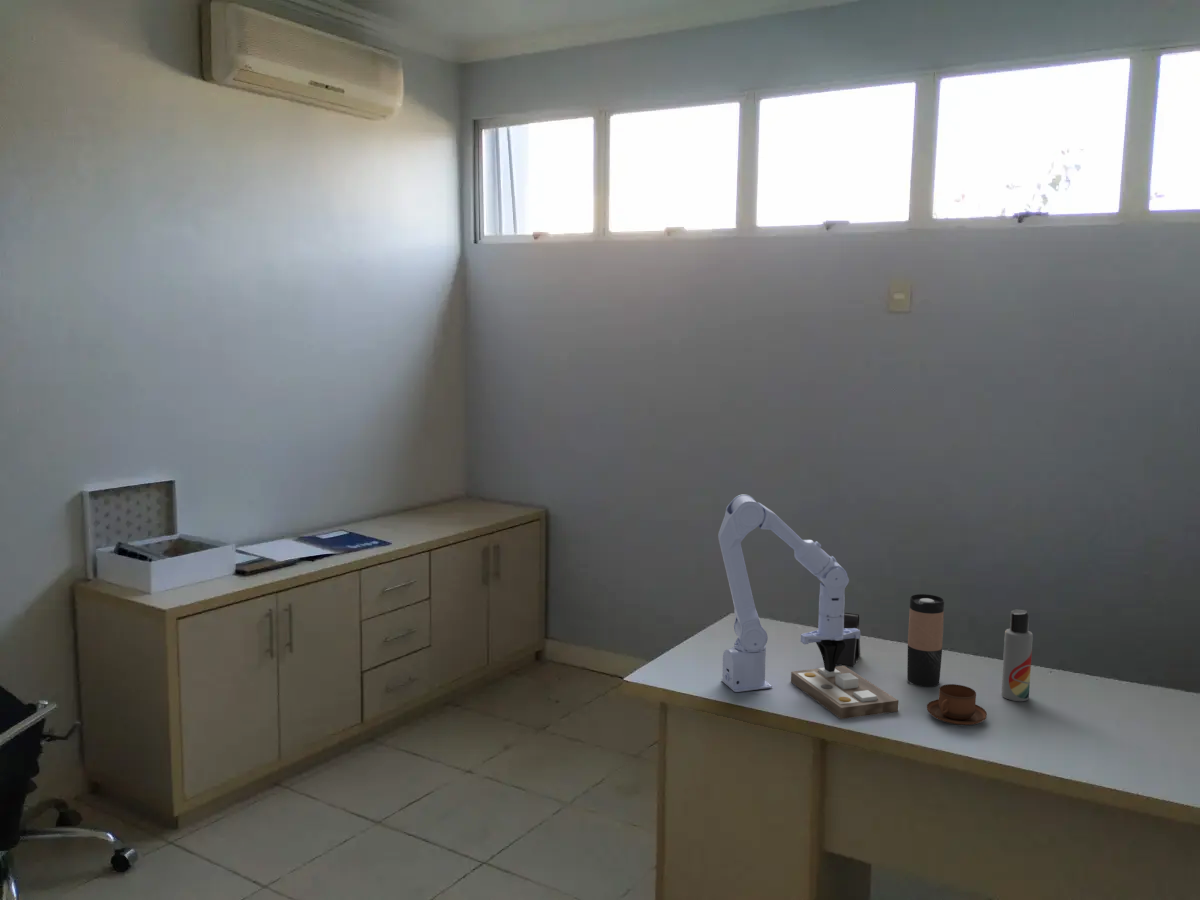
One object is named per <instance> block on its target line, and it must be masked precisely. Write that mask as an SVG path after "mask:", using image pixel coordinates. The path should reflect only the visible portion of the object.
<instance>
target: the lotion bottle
mask: <svg viewBox="0 0 1200 900" xmlns="http://www.w3.org/2000/svg"><path fill="white" fill-rule="evenodd" d="M1009 618H1010V621H1009V628H1006V629H1005V631H1004V642H1003V644H1004V645H1003V658H1002V659H1003V661H1002V676H1001V678H1002V679H1001V696H1002V697H1003V698H1005V699H1007V700H1009V701H1014V702H1025V701H1028V700H1029V697H1030V689H1031V687H1030V684H1031V669H1032V653H1033V640H1034V638H1033V637H1034V635H1033V633H1032V631H1029V627H1030V626H1029V623H1030V613H1029V612H1028V610H1026V609H1013V610H1011V611H1010V617H1009Z"/></svg>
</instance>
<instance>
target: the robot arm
mask: <svg viewBox="0 0 1200 900" xmlns="http://www.w3.org/2000/svg"><path fill="white" fill-rule="evenodd" d="M724 513H725V514H724V517H723V519H722V522H721V525H720V528H719V531H718V532H717V534H718V535H717V538H718V543H719V547H720V552H721V556H722V560H723V564H724V569H725V572H726V577H727V581H728V585H729V590H730V594H731V599H732V602H733V607H734V608H733V609H734V611H733V612H734V617H735V618H734V624H733V631H734V633H735V634H736V636H737V639H736V640H735V642H734V646H732V647H731V648H728V649H725V650H724V651H723V654H722V677H721V678H720V680H721V681H722V683H724V684H725V685H726V686H727V687H728V688H729V689H731V690H732V691H733V692H735V693H739V692H741V693H742V692H747V691H748V692H749V691H757V690H764V689H766V690H767V689H771V688H773V685H772V684H770V683H769V682H768V681H767V680H766V655H767V654H766V652H767V651H766V649H767V646H766V645H767V643H768V633H767V630H765V628H764V627H763V626H762V624H761V619H760V617H759V614H758V611H757V609H756V604H755V601H754V596H753V591H752V587H751V583H750V578H749V575H748V569H747V566H746V561H745V556H744V552H743V548H742V541H744V539H745V538H746V536H747V535H748V534H749V533H751V532H752V531H753V530H755V529H756V528H759V529H760V530H767V531H768V530H770V531H771V532H772V533H774V534H775V535H776V536H777V537H779V539H781V540H782V541H784V543H785V544H787V545H788V546H789V547H790V548H791V549H793V552H794V554H793V556H794V559H795V560H796V561H797V562H798V563H800V565H802V567H803V568H805V569H806V570H807V571H809V572H810V573H811V574H812V576H814V577H816V578H817V580H819V581H820V582H819V597H818V624H817V625H818V627H817V629H815V630H812V631H809V632H804V633H801V634H800V643H802V644H803V645H809V644H811V643H816V645H817V647H818V649H819V652H820V654H821V657H822V661H823V668H825V670H827V671H828V672H833V671H834V670H835V667H836V666H837V665H836V664H837V661H838V658H839V656H840V654H841V652H842V651H843V649H844V648H845V642H843V639H850V638H856V639H860V640H861V630H860V629H859V630H858V629H857V628H844V613H845V606H846V605H845V600H846V599H845V597H846V596H845V594H846V593H845V592H846V591H845V590H846V589H845V588H847V587H848V585H849V583H850V578H849V577H848V572H847V571H846V569H844V567H843V566H841V565H840V564H839V563H838V561H837V559H836V557H834V556H833V555H831V556H830V555H829V553H827V552H826V551H825V550H824V549H822V548H821V547H822V544H821V543H820V542H818V541H817V540H816V541H814V540H812V539H802V538H801V537H800V536H799V535H798V534H797V533H796V531H794V530H793V529H792V528H791V527H790V526H789V525H788V524H787V523H786V522H785V521H784V520H782V518H780V517H779V516H778V515H777V514H776V513H775V512H774V511H772V509H770V508H768V507H767V506H765V505H764V504H763V503H761V502H759V501H756V500H755V498H754V497H753V496H751V495H749V494H739V495H736V496H735V497H734V498H733V499H732V500H731V501H730V502H729V503H728V505H726V508H725V512H724Z"/></svg>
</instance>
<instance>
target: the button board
mask: <svg viewBox="0 0 1200 900" xmlns="http://www.w3.org/2000/svg"><path fill="white" fill-rule="evenodd" d="M835 669H837V670H838V671H840V674H844V673H851V674H852V675H854V676H855V677H857V678H858V688H851V689H842V688H841V687H839V686H838V685H836V684H835V680H836V676H834V677H825V676H823V675H822V674H820V673H819V668H811V669H803V670H794V671H791V672H790V683H792V684H793V685H795V687H797V688H799V689H800V690H802V692H804V693H805V694H807V695H808V696H809V697H810V698H811V699H813V700H814V701H816V702H817V703H818V704H820V705H821V706H823V707H824V708H825V709H827V710H828V711H829V712H830V713H832V714H833V715H834V716H836V717H837V718H839V719H840V720H844V719H853V718H860V717H867V716H875V715H881V714H882V715H883V714H889V713H897V712H899V699H897V698H896V697H894V696H893V695H891V694H889V693H888V692H887V691H884V690H883V689H882V688H879V686H877V685H875V684H874V683H872V682H871V681H869V680H867V679H866V678H864V677H862V676H861V675H860V674H858V673H857V672H855V671H853V670H852V669H850V668H848V666H843V665H836V667H835ZM865 690H869V691H870V692H872V693H873V694H875V695H876V696H877V700H875V701H868V702H861V701H860V700H858V699H857V698H855V697H854V696H853V692H857V691H865Z"/></svg>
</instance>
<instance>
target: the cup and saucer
mask: <svg viewBox="0 0 1200 900" xmlns="http://www.w3.org/2000/svg"><path fill="white" fill-rule="evenodd" d="M976 698H977V692H976V690H974V689H973V688H971V687H969V686H966V685H961V684H956V683H955V684H953V683H952V684H951V683H949V684H948V683H947V684H943V685H941V686H939V689H938V698H937V699H933V700H931V701H929V702H928V703H927V704H926V710H927V712H928V713H929V714H930V715H931V716H932V717H933V718H935V719H937V720H939V721H941V722H944V723H947V724H951V725H955V726H956V725H957V726H973V725H978V724H981V723H982V722H984V721H985V720H986V719H987V716H988V713H987V711H986V710H985V709H984V708H983V707H982V706H980V705H979V704H976V702H977V701H976V700H977V699H976Z"/></svg>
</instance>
